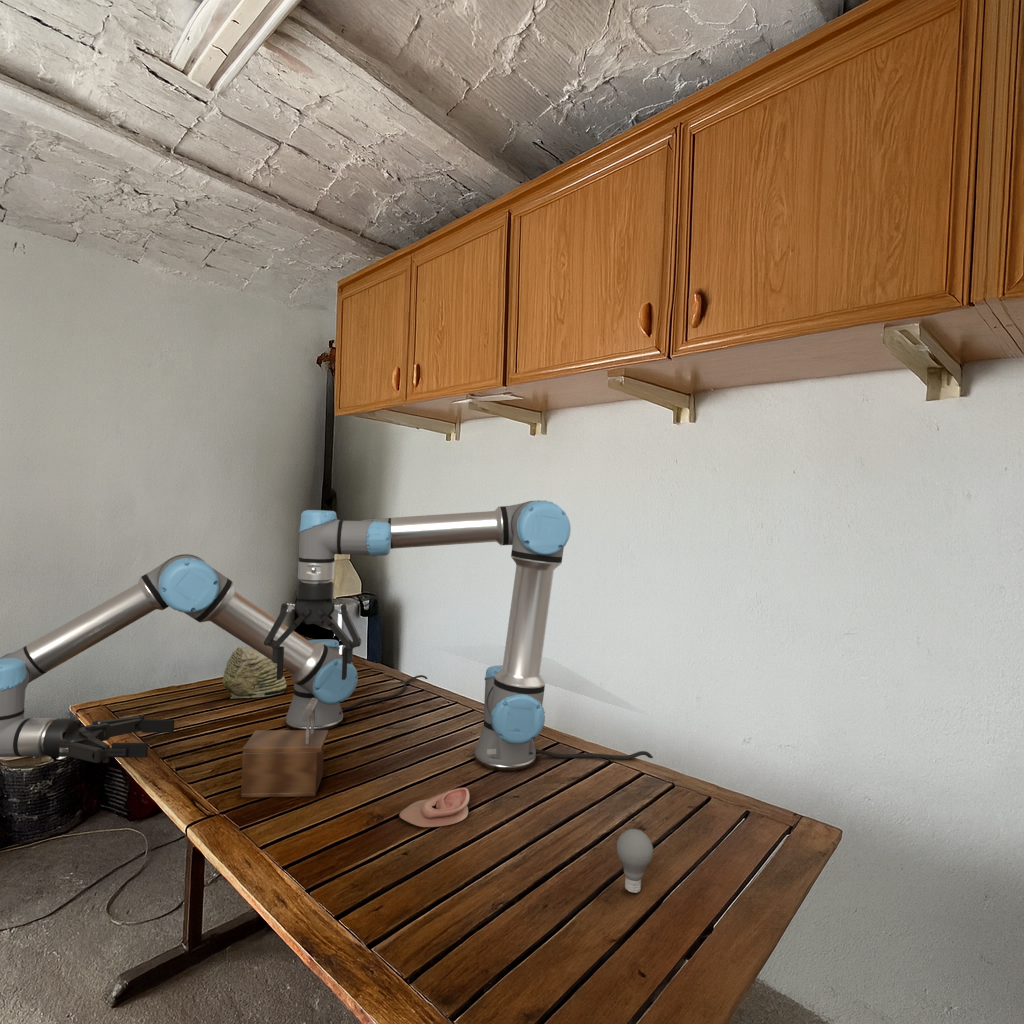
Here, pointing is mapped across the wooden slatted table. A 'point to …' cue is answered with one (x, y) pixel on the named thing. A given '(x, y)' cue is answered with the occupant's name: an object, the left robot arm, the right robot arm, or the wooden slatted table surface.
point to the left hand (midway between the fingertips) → (161, 737)
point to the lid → (289, 737)
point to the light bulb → (634, 857)
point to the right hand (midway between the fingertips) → (312, 678)
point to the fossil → (251, 675)
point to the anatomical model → (438, 809)
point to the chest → (281, 774)
